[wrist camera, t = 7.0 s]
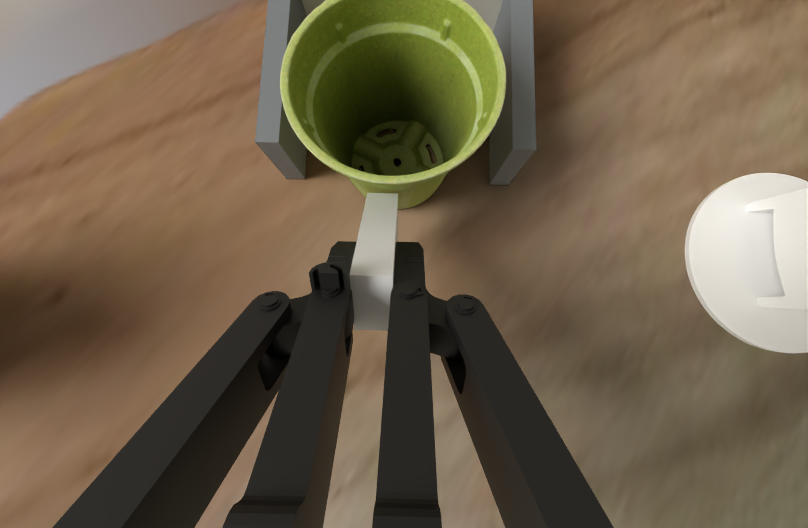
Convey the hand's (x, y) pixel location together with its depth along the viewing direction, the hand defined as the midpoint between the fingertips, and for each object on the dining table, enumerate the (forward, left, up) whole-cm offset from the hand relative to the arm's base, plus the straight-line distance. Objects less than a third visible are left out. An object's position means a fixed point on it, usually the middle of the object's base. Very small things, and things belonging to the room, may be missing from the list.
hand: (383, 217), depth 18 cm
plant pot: (0, -5, -5) cm, 7 cm away
